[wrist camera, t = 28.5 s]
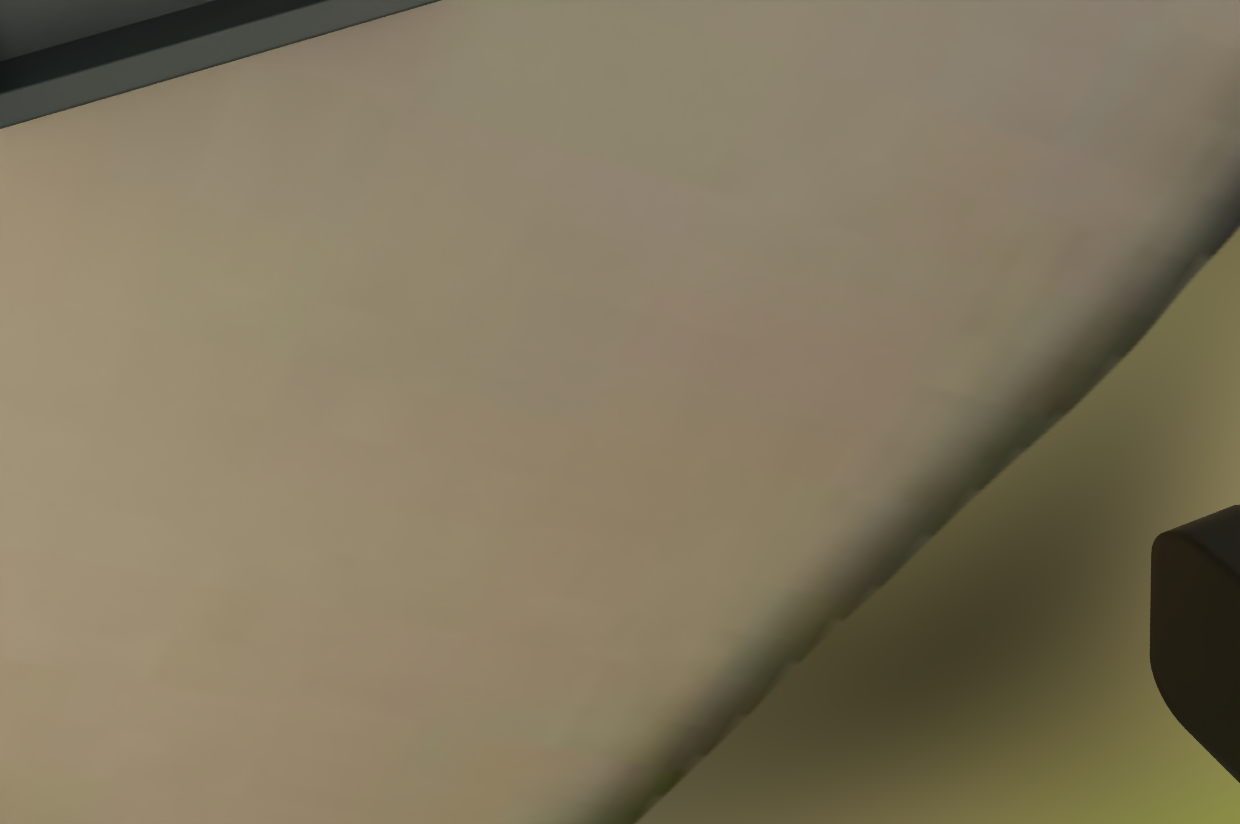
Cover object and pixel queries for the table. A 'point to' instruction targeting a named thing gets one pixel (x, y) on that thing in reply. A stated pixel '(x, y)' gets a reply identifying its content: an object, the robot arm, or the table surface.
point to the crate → (147, 43)
